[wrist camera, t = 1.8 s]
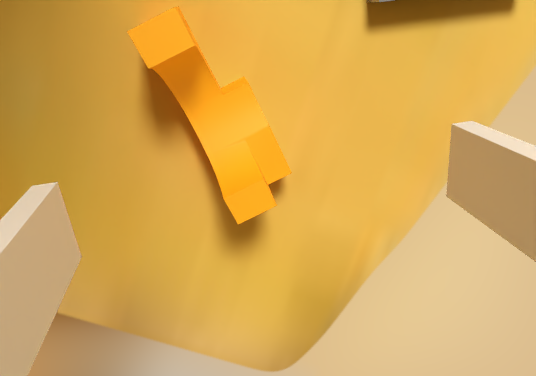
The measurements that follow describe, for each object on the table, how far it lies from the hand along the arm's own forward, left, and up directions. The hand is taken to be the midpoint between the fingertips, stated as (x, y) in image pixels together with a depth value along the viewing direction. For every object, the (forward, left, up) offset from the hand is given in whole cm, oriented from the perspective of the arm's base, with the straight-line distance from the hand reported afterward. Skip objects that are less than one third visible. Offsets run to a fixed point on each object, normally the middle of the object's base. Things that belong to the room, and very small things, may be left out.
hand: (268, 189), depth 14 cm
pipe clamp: (0, -1, -16) cm, 16 cm away
